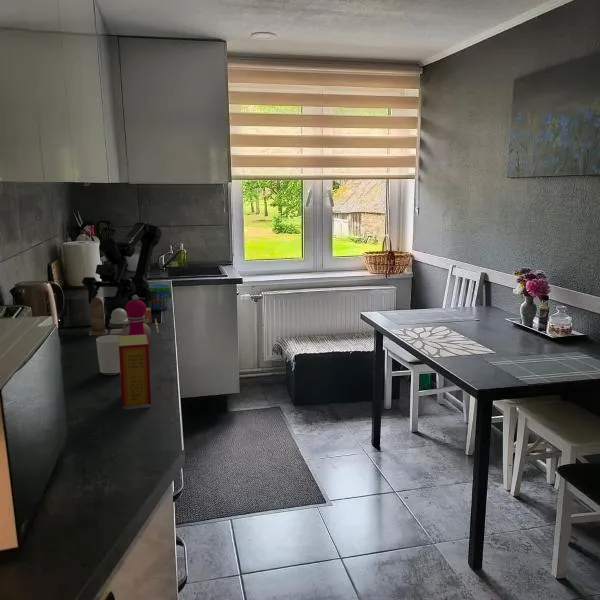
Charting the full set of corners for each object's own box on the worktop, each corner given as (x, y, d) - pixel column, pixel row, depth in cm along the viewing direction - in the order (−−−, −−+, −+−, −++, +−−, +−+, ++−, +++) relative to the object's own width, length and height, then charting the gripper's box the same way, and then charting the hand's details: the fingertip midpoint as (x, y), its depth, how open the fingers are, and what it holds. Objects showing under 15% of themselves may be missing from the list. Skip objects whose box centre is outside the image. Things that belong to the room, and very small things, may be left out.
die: (137, 321, 209) (137, 308, 208) (151, 320, 210) (150, 307, 209) (137, 324, 204) (137, 310, 203) (151, 323, 205) (151, 310, 204)
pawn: (91, 330, 193) (88, 296, 190) (106, 330, 194) (104, 295, 192) (90, 334, 188) (87, 299, 185) (105, 333, 189) (103, 298, 187)
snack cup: (162, 304, 244) (161, 282, 242) (180, 307, 239) (179, 284, 237) (136, 310, 231) (135, 287, 229) (155, 313, 226) (154, 289, 224)
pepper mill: (125, 363, 161) (121, 297, 157) (126, 356, 168) (122, 293, 164) (150, 361, 163) (147, 296, 159) (150, 354, 170) (147, 292, 166)
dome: (110, 321, 204) (109, 307, 203) (129, 320, 206) (128, 306, 204) (109, 325, 197) (108, 310, 196) (129, 324, 199) (128, 309, 198)
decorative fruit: (131, 353, 170) (130, 323, 168) (117, 348, 176) (116, 318, 174) (157, 347, 177) (156, 318, 175) (143, 343, 183) (141, 314, 181)
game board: (88, 325, 205) (88, 321, 205) (156, 321, 212) (156, 317, 212) (84, 339, 186) (83, 334, 186) (158, 334, 194) (158, 330, 193)
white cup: (130, 368, 157) (129, 334, 155) (123, 377, 149) (121, 342, 147) (103, 368, 157) (101, 334, 155) (94, 377, 149) (91, 342, 147)
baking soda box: (121, 396, 136) (118, 334, 132) (148, 393, 138) (145, 332, 134) (122, 410, 127) (118, 344, 124) (151, 407, 129) (148, 342, 126)
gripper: (82, 254, 196) (66, 289, 187) (130, 256, 193) (116, 292, 184) (95, 273, 205) (81, 307, 196) (141, 275, 202) (129, 310, 193)
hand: (101, 304), depth 192 cm, fingers open, 9 cm apart
